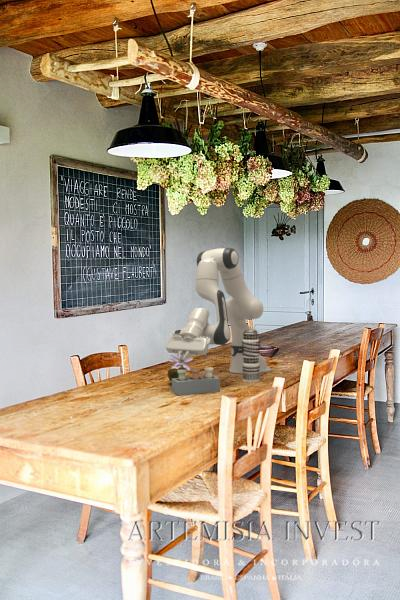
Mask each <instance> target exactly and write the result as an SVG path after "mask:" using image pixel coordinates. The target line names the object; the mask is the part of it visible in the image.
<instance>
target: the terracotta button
mask: <svg viewBox="0 0 400 600" xmlns="http://www.w3.org/2000/svg"><path fill="white" fill-rule="evenodd" d="M190 372H191V373H192V375H191V377H192V380H197V379H199V376H200V372H201V369H200V368H197V367H195V368H191V369H190Z"/></svg>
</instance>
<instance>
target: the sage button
mask: <svg viewBox="0 0 400 600" xmlns="http://www.w3.org/2000/svg"><path fill="white" fill-rule="evenodd" d="M178 373H179V381H185V377H186V374H187V369H185V368H184V369H178Z"/></svg>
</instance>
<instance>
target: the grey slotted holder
mask: <svg viewBox="0 0 400 600" xmlns="http://www.w3.org/2000/svg"><path fill="white" fill-rule="evenodd" d="M220 379H221V378H220V377H218V376H216V375H214V374H212V378H208V379H206V375H199V379H197V380H192V376H185V381H179V378H172V381H171V392H172V393H173V394H175V395H177V396H187V395H196V394H197V395H198V394H208V393H218V392H220V391H221V380H220Z"/></svg>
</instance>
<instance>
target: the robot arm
mask: <svg viewBox="0 0 400 600" xmlns="http://www.w3.org/2000/svg"><path fill="white" fill-rule="evenodd" d="M196 266H197V270H196V275H195V290H196V294H197V295H198V296H199V297H200V298H202V299H204V300H206V301H208V302H210V303H212V304H214V306H215V307H214V308H215V313H216V321H217V322H216V323H211V324H210V323H209V316H210V310H208V309H207V308H205V307H200V306H199V307H194V308H193V310H192V311H191V313H190V314H189V317H188V319H187V324H186V325H185V326H184V327H182V328H180V329H176V330H173V331H172V335H171V336H170V337H169V338H168V341H167V342H166V344H165V350H166V352H167V353H170V354H175V353H179V358H178V359H179V361H186V358H190V356H191V355H198V356H205V355H206V354H207V353H208V351H209V345H217V346H225V345H226V344H227V343H228V342H229V341H230V339H231V345H230V355H231V360H230V365H229V369H228V372H230V373H233V374H243V372H244V371H243V369H244V368H243V362H244V361H243V357H242V355H243V354H242V352H243V350H242V348H243V347H242V345H243V343H242V341H243V332H244V331H245V330H247V329H252V328H251V327H250V326H249V325H248V323H247V321H246V320H251V321H252V320H256V319H259V318H261V317H262V315H263V313H264V305H263V303H262V301H260V300H259V299H257V298H256V297H255V296H254V295H253V293H252V292H251V290H250V289H249V288H248V286H247V284H246V281H245V278H244V276H243V272H242V269H241V266H240V264H239V254H238V252H237V250H235V248H232V247H225V248H223V247H222V248H221V247H219V248H215V249H210V250H203V251H201V252H200V253H199V254H198V255H197V257H196ZM219 275H220V276H219ZM219 277H220V279H221V282H222V284H223V288H224V291H225V292H226V294H227V295H229V296H230V297H229V298H225V297H226V296H225V293H224V292H223V291H222V290H221V288H220V286H219V280H220V279H219ZM258 348H259V349H260V346H258ZM183 354H185V355H184V356H182V355H183ZM258 355H259V356H260V357H259V366H260V368H258V369H260V371H259V373H260V374H261V373H267V372H272V368H271V367H269V366H268V363H267V360H266V358H265V357H264V356H262V355H261V354H260V353H258Z"/></svg>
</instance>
